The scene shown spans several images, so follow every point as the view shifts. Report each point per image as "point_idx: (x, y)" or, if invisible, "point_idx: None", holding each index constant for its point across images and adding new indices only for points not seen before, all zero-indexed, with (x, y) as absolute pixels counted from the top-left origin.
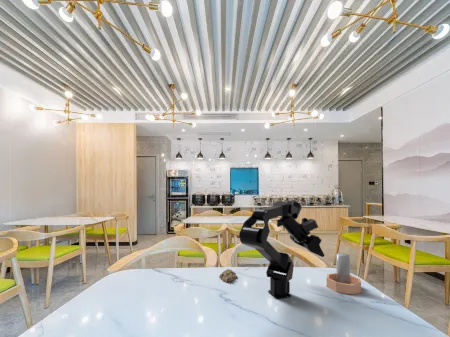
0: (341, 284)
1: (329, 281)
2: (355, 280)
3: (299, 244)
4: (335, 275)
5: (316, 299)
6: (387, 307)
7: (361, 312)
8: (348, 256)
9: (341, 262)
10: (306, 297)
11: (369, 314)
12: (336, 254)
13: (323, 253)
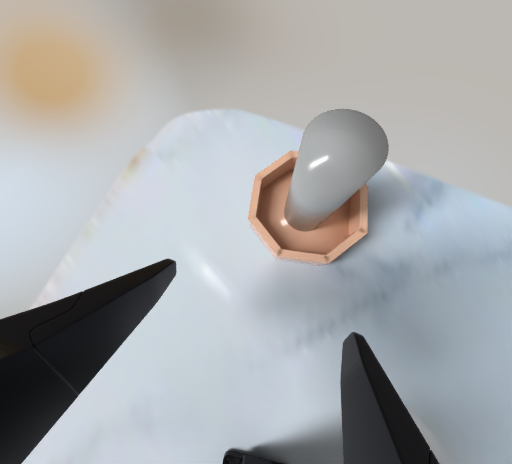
0: (342, 252)
1: (292, 259)
2: None
3: (51, 423)
4: (260, 191)
5: (340, 383)
6: (454, 220)
7: (461, 322)
8: (385, 141)
9: (348, 196)
10: (314, 406)
11: (478, 310)
12: (321, 176)
13: (377, 361)
